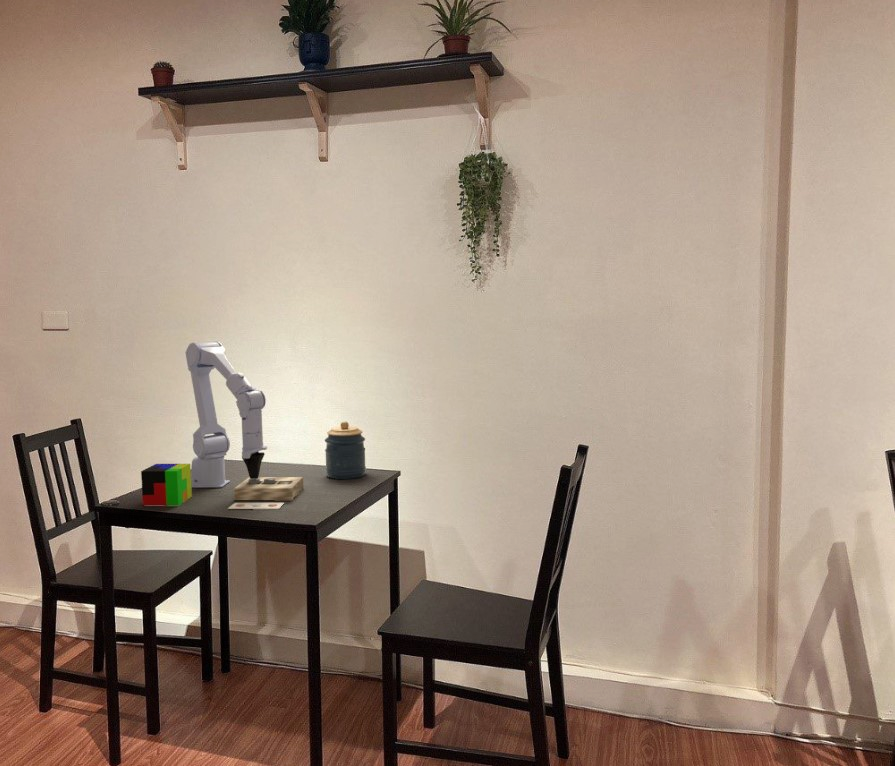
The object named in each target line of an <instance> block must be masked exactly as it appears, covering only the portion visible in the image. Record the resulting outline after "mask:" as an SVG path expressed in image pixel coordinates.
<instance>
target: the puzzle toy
mask: <svg viewBox="0 0 895 766" xmlns="http://www.w3.org/2000/svg"><path fill="white" fill-rule="evenodd" d="M140 475H141V477H140V479H141V494H142V506H143V505H180V504H181V503H183V502H184V501H186V500H187V499H189V498H190V497H193V492H192V488H193V487H191V486H192V470H191V463H154V464H153V465H151V466H149V467H147V468H145V469H142V470H141V471H140ZM190 499H191V498H190ZM190 499H189V500H190ZM187 501H188V500H187ZM187 501H186V502H187ZM184 503H185V502H184ZM184 503H183V504H184ZM181 505H182V504H181ZM181 505H180V506H181Z"/></svg>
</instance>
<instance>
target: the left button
mask: <svg viewBox="0 0 895 766" xmlns="http://www.w3.org/2000/svg"><path fill="white" fill-rule="evenodd" d="M249 484H260V479H259V478H257V479H249Z"/></svg>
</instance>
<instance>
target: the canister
mask: <svg viewBox="0 0 895 766" xmlns="http://www.w3.org/2000/svg"><path fill="white" fill-rule="evenodd" d="M326 433H327V435H328V436H327V437H326V438H325V439H324V442H325V443H326V445H325V446H326V447H325V449H324V451H325V475H326V477H327V476H328V477H327V478H329V477H330V479H334V478H335V479H337V480H349V479H357V478H362V477H364V476H365V475H366V472H367V471H366V470H367V469H366V467H367V466H366V448H365V445H364V442H365V441H366V438H365V437H364V436H363V435H362V433H363V430H361V429H359V428H358V427H357V426H350V425H349V422H347V421H345V420H344V421H342V422H340V426H336V427H335V426H334V427H332V428H331V429H330V430H329V431H327V432H326Z"/></svg>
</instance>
